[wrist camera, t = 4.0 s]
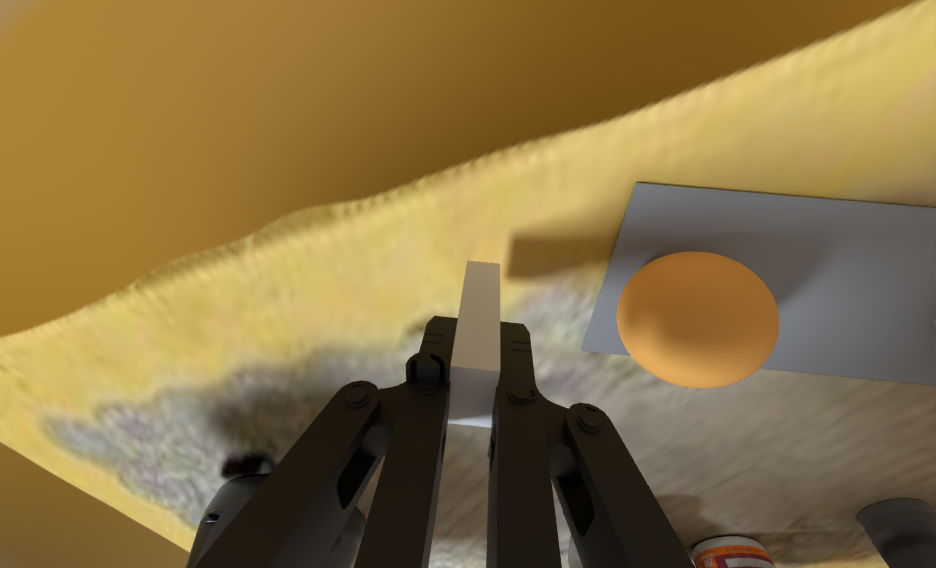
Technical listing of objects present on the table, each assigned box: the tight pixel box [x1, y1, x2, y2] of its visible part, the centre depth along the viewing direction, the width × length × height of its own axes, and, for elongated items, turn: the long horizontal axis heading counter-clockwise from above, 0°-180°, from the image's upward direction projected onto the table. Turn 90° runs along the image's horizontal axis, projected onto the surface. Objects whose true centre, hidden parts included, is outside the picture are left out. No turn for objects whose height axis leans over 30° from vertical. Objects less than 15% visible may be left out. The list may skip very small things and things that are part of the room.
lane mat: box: [581, 182, 936, 386], centre depth 18 cm, size 27×10×1 cm, turn 86°
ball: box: [616, 251, 780, 389], centre depth 15 cm, size 6×6×6 cm
